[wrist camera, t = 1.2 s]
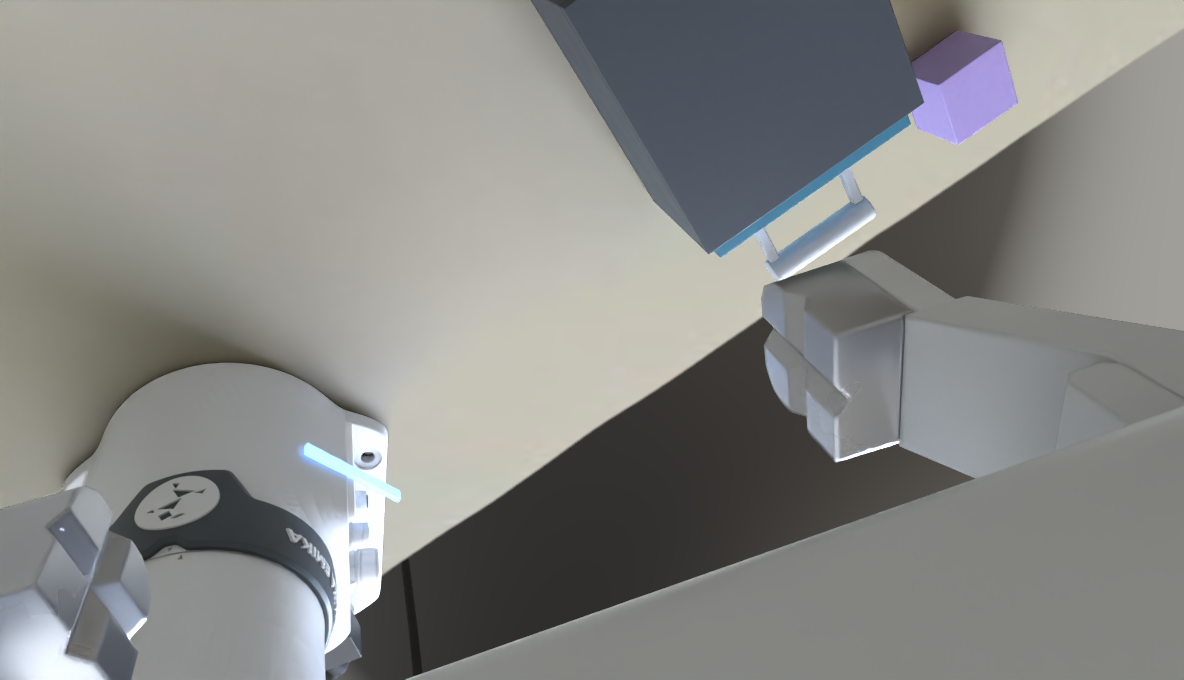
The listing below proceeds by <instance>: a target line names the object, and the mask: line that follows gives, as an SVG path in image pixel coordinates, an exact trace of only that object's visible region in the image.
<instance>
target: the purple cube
mask: <svg viewBox="0 0 1184 680" xmlns="http://www.w3.org/2000/svg"><path fill="white" fill-rule="evenodd" d="M911 65H912V68H913V71H914V74H915V77H916V79H917V82H918V85H919V88H920V91H921V94H922V97H923V100H924V103H923V104H922V105H921V106H919V107H918V108H916V109H915V110H913V111H912V113H913V116H914V119H915V122H916V125H917V127H918V129H920V130H922V131H925V132H927V133H930V134H932V135H934V136H937V137H939V138H942V139H944V140H947V141H949V142H952V143H954V144H956V145H959V144H960V143H961V142H963V141H964V140H966V139H967V138H969V137H970V136H971V135H973V134H974V133H976V132H977V131H979V130H980V129H981V128H983V127H984V126H986V125H987V124H989V123H990V122H992V121H993V120H994V119H996V118H997V117H999V116H1000V115H1002V114H1003V113H1004V112H1006V111H1007V110H1009V109H1010V108H1012V107H1013V106H1014V105H1016V104H1017V103H1018V101H1017V97H1016V93H1015V89H1014V85H1013V82H1012V78H1011V74H1010V70H1009V66H1008V62H1007V59H1006V55H1005V51H1004V47H1003V43H1002V41H1001V40H997V39H993V38H988V37H984V36H979V35H975V34H971V33H966V32H962V31H955V32H954V33H952V34H951V35H950V36H948V37H947V38H945V39H944V40H943V41H941V42H940V43H938V44H937V45H936V46H934V47H933V48H931V49H930V50H928V51H927V52H926V53H924V54H923V55H921V56H920V57H919V58H917V59H916V60H914V61H913V62H912V63H911Z"/></svg>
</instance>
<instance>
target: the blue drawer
mask: <svg viewBox="0 0 1184 680" xmlns="http://www.w3.org/2000/svg"><path fill="white" fill-rule="evenodd" d="M910 124H911V123H910V120H909V117H908V115H906V116H905V117H904V118H902V119H901V120H899V121H898V122H896V123H895V124H894V125H892V126H891V127H889V128H888V129H886V130H885V131H884V132H882V133H881V134H879V135H878V136H877V137H875V138H874V139H872V140H871V141H869V142H868V143H867V144H865V145H864V146H862V147H861V148H860V149H858V150H857V151H855V152H854V153H852V154H851V155H850V156H848V157H847V158H845V159H844V160H842V161H841V162H840V163H838V164H837V165H835V166H834V167H833V168H831V169H830V170H828V171H827V172H825V173H824V174H823V175H821V176H820V177H818V178H817V179H816V180H814V181H813V182H811V183H810V184H808V185H807V186H806V187H804V188H803V189H801V190H800V191H798V192H797V193H796V194H794V195H793V196H791V197H790V198H789V199H787V200H786V201H784V202H783V203H781V204H780V205H779V206H777V207H776V208H774V209H773V210H771V211H770V212H769V213H767V214H766V215H764V216H763V217H762V218H760V219H759V220H757V221H756V222H754V223H753V224H752V225H750V226H749V227H747V228H746V229H745V230H743V231H742V232H740V233H739V234H737V235H736V236H735V237H733V238H732V239H730V240H729V241H727V242H726V243H725V244H723V245H722V246H720V247H719V248H718V249H716V250H715V251H714V252H715V253H716V254H717V255H718V256H720V257H723V256H724V255H726V254H727V253H728V252H730V251H731V250H733V249H734V248H735V247H737V246H738V245H740V244H741V243H743V242H744V241H745V240H747V239H748V238H750V237H751V236H753V235H755V237H756V239H757V241H758V243H759V244H760V246H761V248H762V250H763V252H764V254H765V256H766V257H767V259H768V260H767V261H766V262H765V266H766V268H767V270H768V271H769V273H770V274H771V276H772V277H773V278H774V279H775V280H776V281H779V280H782V279H785V278H788V277H790V276H791V275H793V274H794V273H796V272H797V271H798V270H800V269H801V268H803V267H804V266H806V265H807V264H809V263H810V262H811V261H813V260H814V259H816V258H817V257H819V256H820V255H821V254H823V253H824V252H826V251H827V250H829V249H830V248H831V247H833V246H834V245H836V244H837V243H839V242H840V241H842V240H843V239H844V238H846V237H847V236H849V235H850V234H852V233H853V232H854V231H856V230H857V229H859V228H860V227H862V226H863V225H864V224H866V223H867V222H869V221H870V220H872V219H873V218H874V217H875V216H876V212H875V209H874V207H873V206H872V204H871V203H870V202H869V201H868V200H867V199H866V198H865V197H864V196H862V195H861V193H860V191H859V188H858V186H857V183H856V181H855V179H854V176H853V174H852V172H851V169H850V167H851V166H852V165H853V164H855V163H856V162H858V161H859V160H861V159H862V158H863V157H865V156H866V155H868V154H869V153H871V152H872V151H873V150H875V149H876V148H878V147H879V146H881V145H882V144H883V143H885V142H886V141H888V140H889V139H890V138H892V137H893V136H895V135H896V134H898V133H899V132H900V131H902V130H903V129H905V128H906V127H908V126H909V125H910ZM838 175H839V177H840V179H841V182H842V184H843V186H844V188H845V191H846V193H847V195H848V198H849V200H850V203H848V204H847V205H845V206H844V207H843V208H841V209H840V210H838V211H837V212H835V213H834V214H833V215H831V216H830V217H828V218H827V219H825V220H824V221H823V222H821V223H820V224H818V225H817V226H815V227H814V228H813V229H811V230H810V231H808V232H807V233H805V234H804V235H803V236H801V237H800V238H798V239H797V240H795V241H794V242H793V243H791V244H790V245H788V246H787V247H785V248H784V249H783V250H781V251H780V252H778V253H777V251H776V249H775V247H774V246H773V244H772V242H771V240H770V238H769V236H768V234H767V232H766V230H765V228H764V227H765V226H767V225H768V224H770V223H771V222H772V221H774V220H775V219H777V218H778V217H780V216H781V215H782V214H784V213H785V212H787V211H788V210H789V209H791V208H792V207H794V206H795V205H797V204H798V203H799V202H801V201H802V200H804V199H805V198H807V197H808V196H809V195H811V194H812V193H814V192H815V191H817V190H818V189H819V188H821V187H822V186H824V185H825V184H826V183H828V182H829V181H831V180H832V179H834V178H835V177H836V176H838Z"/></svg>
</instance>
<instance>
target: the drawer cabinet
mask: <svg viewBox="0 0 1184 680" xmlns="http://www.w3.org/2000/svg"><path fill="white" fill-rule="evenodd" d="M531 1H532V3H533V4H534V6H535V8H536V9H537V11H538V13H539V14H540V16H541V17H542V19H543V21H544V22H545V24H546V26H547V27H548V29H549V31H550V32H551V34H552V35H553V37H554V39H555V40H556V42H557V44H558V45H559V47H560V49H561V50H562V52H563V53H564V55H565V57H566V58H567V60H568V62H569V63H570V65H571V67H572V68H573V70H574V71H575V73H576V75H577V76H578V78H579V80H580V81H581V83H582V85H583V86H584V88H585V89H586V91H587V93H588V94H589V96H590V98H591V99H592V101H593V103H594V104H595V106H596V107H597V109H598V111H599V112H600V114H601V116H602V117H603V119H604V121H605V122H606V124H607V125H608V127H609V129H610V130H611V132H612V134H613V135H614V137H615V139H616V140H617V142H618V143H619V145H620V147H621V148H622V150H623V152H624V153H625V155H626V157H627V158H628V160H629V161H630V163H631V165H632V166H633V168H634V170H635V171H636V173H637V175H638V176H639V178H640V179H641V181H642V183H643V184H644V186H645V188H646V189H647V191H648V193H649V194H650V196H651V197H652V199H653V201H654V202H655V203H656V204H657V205H658V206H659V207H660V208H661V209H662V210H663V211H665V212H666V213H667V214H668V215H669V216H670V217H671V218H672V219H673V220H674V221H675V222H676V223H677V224H678V225H679V226H680V227H681V228H682V229H683V230H684V231H685V232H686V233H687V234H688V235H689V236H690V237H691V238H692V239H693V240H695V241H696V242H697V243H698V244H699V245H700V246H701V247H702V248H703V249H704V250H705V251H706V252H707V253H708V254H710V253H712V252H713V251H715V250H716V249H718V248H719V247H720V246H722V245H723V244H725V243H726V242H727V241H729V240H730V239H732V238H733V237H735V236H736V235H737V234H739V233H740V232H742V231H743V230H745V229H746V228H747V227H749V226H750V225H752V224H753V223H754V222H756V221H757V220H759V219H760V218H762V217H763V216H764V215H766V214H767V213H769V212H770V211H771V210H773V209H774V208H776V207H777V206H779V205H780V204H781V203H783V202H784V201H786V200H787V199H789V198H790V197H791V196H793V195H794V194H796V193H797V192H798V191H800V190H801V189H803V188H804V187H806V186H807V185H808V184H810V183H811V182H813V181H814V180H816V179H817V178H818V177H820V176H821V175H823V174H824V173H825V172H827V171H828V170H830V169H831V168H833V167H834V166H835V165H837V164H838V163H840V162H841V161H842V160H844V159H845V158H847V157H848V156H850V155H851V154H852V153H854V152H855V151H857V150H858V149H860V148H861V147H862V146H864V145H865V144H867V143H868V142H869V141H871V140H872V139H874V138H875V137H877V136H878V135H879V134H881V133H882V132H884V131H885V130H886V129H888V128H889V127H891V126H892V125H894V124H895V123H896V122H898V121H899V120H901V119H902V118H904V117H905V116H906V115H908V114H909V113H911V112H912V111H913V110H915V109H916V108H918V107H919V106H921V105H922V104H923V103H924V100H923V97H922V94H921V91H920V88H919V85H918V82H917V79H916V77H915V74H914V71H913V68H912V65H911V62H910V59H909V56H908V53H907V50H906V47H905V44H904V41H903V38H902V35H901V32H900V29H899V26H898V23H897V20H896V17H895V15H894V12H893V9H892V6H891V3H890V0H531Z"/></svg>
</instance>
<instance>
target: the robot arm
mask: <svg viewBox="0 0 1184 680" xmlns="http://www.w3.org/2000/svg"><path fill="white" fill-rule="evenodd" d="M761 300H762V316H763V317H764V318H765V319H766V320H767V321H768V322H769V323H770V324H771V325H772V326H773V327H774V328H773V330H772V332H771V334H770V336H769V337H768V339H767V341H766V343H765V345H764V348H765V358H766V367H767V371H768V374H769V377H770V380H771V383H772V386H773V388H774V390H775V391H776V393H777V395H778V397H779V399H780V400H781V401H782V403H783V404H784V405H785V406H786V407H787V408H788V410H789V411H791V412H794V413H797V414H800V415H804V416H806V417H807V430H808V432H809V433H810V435H811V436H812V437H813V438H814V439H815V440H816V441H817V442H818V443H819V445H820V446H821V447H822V448H823V449H824V450H825V451H826V452H827V453H828V454H829V456H830V457H831V458H832V459H833V460H834V461H835V462H839V461H842V460H845V459H849V458H852V457H855V456H858V455H862V454H865V453H868V452H871V451H874V450H878V449H881V448H884V447H887V446H891V445H894V444H897V443H900V446H901V447H903V448H905V449H908V450H910V451H912V452H915V453H917V454H920V455H922V456H924V457H927V458H929V459H931V460H934V461H936V462H938V463H941V464H943V465H946V466H948V467H951V468H953V469H955V470H957V471H960V472H962V473H964V474H967V475H969V476H972V477H974V478H976V479H974V480H971V481H968V482H965V483H962V484H959V485H957V486H954V487H951V488H948V489H945V490H942V491H940V492H937V493H934V494H931V495H928V496H926V497H923V498H920V499H917V500H914V501H911V502H908V503H906V504H903V505H900V506H897V507H894V508H891V509H889V510H886V511H883V512H880V513H877V514H874V515H872V516H869V517H866V518H863V519H861V520H857V521H854V522H852V523H849V524H846V525H843V526H841V527H837V528H835V529H832V530H829V531H826V532H823V533H820V534H818V535H815V536H812V537H809V538H806V539H803V540H800V541H798V542H795V543H792V544H789V545H787V546H784V547H781V548H778V549H775V550H772V551H769V552H766V553H764V554H761V555H758V556H755V557H752V558H749V559H747V560H744V561H741V562H738V563H735V564H733V565H730V566H727V567H724V568H721V569H718V570H715V571H713V572H710V573H707V574H704V575H701V576H698V577H696V578H693V579H690V580H687V581H684V582H681V583H678V584H676V585H673V586H670V587H667V588H664V589H661V590H658V591H656V592H653V593H650V594H647V595H644V596H642V597H639V598H636V599H633V600H630V601H627V602H624V603H622V604H619V605H616V606H613V607H610V608H607V609H605V610H602V611H599V612H596V613H593V614H590V615H588V616H585V617H582V618H579V619H577V620H574V621H570V622H568V623H565V624H562V625H559V626H556V627H553V628H551V629H548V630H545V631H542V632H539V633H537V634H534V635H531V636H528V637H525V638H522V639H519V640H517V641H514V642H511V643H508V644H505V645H503V646H500V647H497V648H494V649H491V650H488V651H485V652H482V653H480V654H477V655H474V656H471V657H469V658H466V659H463V660H460V661H457V662H454V663H451V664H449V665H446V666H443V667H440V668H437V669H434V670H431V671H428V672H426V673H423V672H422V662H421V652H420V643H419V634H418V626H417V618H416V610H415V602H414V594H413V587H412V578H411V570H410V562H409V556H408V557H407V558H405V559H404V560H402V561H401V568H402V578H403V586H404V595H405V604H406V612H407V621H408V631H409V640H410V650H411V660H412V671H413V677H411V678H408V679H406V680H1184V331H1180V330H1174V329H1168V328H1162V327H1155V326H1149V325H1143V324H1137V323H1130V322H1124V321H1118V320H1112V319H1106V318H1099V317H1093V316H1087V315H1081V314H1074V313H1068V312H1062V311H1056V310H1050V309H1044V308H1038V307H1032V306H1025V305H1019V304H1013V303H1007V302H1000V301H994V300H988V299H982V298H976V297H970V296H966V297H963V298H959V299H954V298H953V297H951V296H950V295H948V294H946V293H945V292H943V291H942V290H940V289H939V288H937V287H935V286H934V285H932V284H931V283H929V282H928V281H926V280H924V279H923V278H921V277H920V276H918V275H917V274H915V273H914V272H912V271H911V270H909V269H907V268H906V267H904V266H903V265H901V264H899V263H898V262H896V261H895V260H893V259H892V258H890V257H888V256H887V255H886V254H884V253H882V252H881V251H871V250H870V251H868V252H864V253H861V254H859V255H855V256H852V257H850V258H847V259H844V260H841V261H838V262H835V263H832V264H829V265H825V266H822V267H819V268H816V269H813V270H810V271H807V272H804V273H801V274H798V275H795V276H791V277H788V278H785V279H782V280H779V281H776V282H773V283H770V284H768V285H765V286H764V288H763V293H762V298H761ZM387 445H388V433H387V430H386V428H385V426H384V425H383V424H381V423H380V422H378V421H376V420H374V419H372V418H369V417H366V416H363V415H360V414H357V413H353V412H350V411H346V410H344V409H342V408H340V407H339V406H337V405H336V404H334V403H333V402H332V401H330V400H329V399H328V398H327V397H326V396H324V395H323V394H322V393H320V392H319V391H318V390H317V389H315V388H314V387H312V386H311V385H309V384H307V383H306V382H304V381H302V380H300V379H298V378H296V377H294V376H292V375H289V374H287V373H284V372H281V371H278V370H275V369H271V368H268V367H263V366H258V365H252V364H243V363H212V364H204V365H198V366H192V367H188V368H184V369H180V370H177V371H174V372H171V373H169V374H166V375H164V376H162V377H159V378H157V379H155V380H153V381H152V382H150V383H148V384H146V385H145V386H143V387H142V388H140V389H139V390H137V391H136V392H135V393H134V394H132V395H131V396H130V397H129V398H128V399H127V400H126V401H125V402H124V403H123V404H122V405H121V406H120V407H119V408H118V410H117V411H116V412H115V414H114V415H113V417H112V418H111V420H110V421H109V423H108V425H107V427H106V430H105V432H104V435H103V437H102V439H101V442H100V444H99V446H98V448H97V450H96V451H95V453H94V454H93V455H92V456H91V457H90V458H88V459H87V460H86V461H85V462H83V463H82V464H81V465H80V466H79V467H77V468H76V469H75V470H74V471H73V472H72V473H71V474H70V475H69V476H68V477H67V479H66V480H65V482H64V485H63V489H62V492H59V493H55V494H52V495H48V496H45V497H41V498H37V499H34V500H30V501H26V502H23V503H19V504H16V505H12V506H8V507H5V508H1V509H0V680H336V679H337V677H338V676H339V675H341V674H343V673H344V672H345V671H346V669H347V667H348V664H349V662H350V661H352V660H355V659H358V658H360V657H361V656H362V654H361V631H360V630H361V629H360V625H359V623H358V621H357V619H356V617H355V616H354V614H356V613H358V612H360V611H361V610H363V609H364V608H366V607H367V606H369V605H370V604H371V603H372V602H374V601H375V600H376V599H377V598H378V596H379V594H380V585H381V571H382V550H383V529H384V508H385V496H386V497H388V498H390V499H392V500H394V501H396V502H399V501H400V500H401V495H400V491H399V490H397V489H395V488H393V487H391V486H390V485H388V484H386V466H387ZM365 452H372V453H373V454H372V455H370V456H364V455H362V454H363V453H365ZM325 670H326V671H325Z"/></svg>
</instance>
